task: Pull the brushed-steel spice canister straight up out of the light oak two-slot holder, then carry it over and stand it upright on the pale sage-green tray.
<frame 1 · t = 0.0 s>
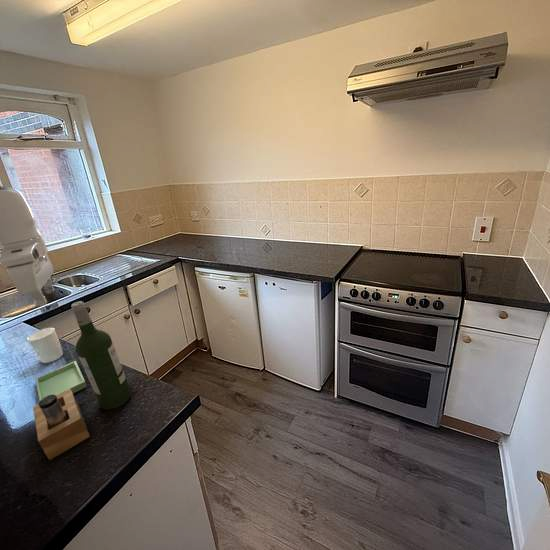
hand: (47, 298, 82), 29 cm above the countertop, tool pointing down, fingers open, 8 cm apart
holder: (65, 430, 75), on the countertop
wine bottle: (116, 399, 83), on the countertop
canister: (67, 437, 72), resting in holder
tray: (62, 385, 92), on the countertop
white cup: (52, 357, 107), on the countertop
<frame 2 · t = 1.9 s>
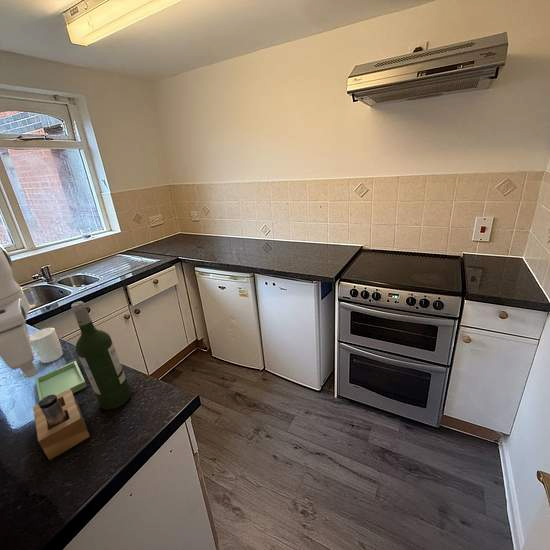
hand: (30, 365, 65), 22 cm above the countertop, tool pointing down, fingers open, 8 cm apart
nothing on the countertop moved.
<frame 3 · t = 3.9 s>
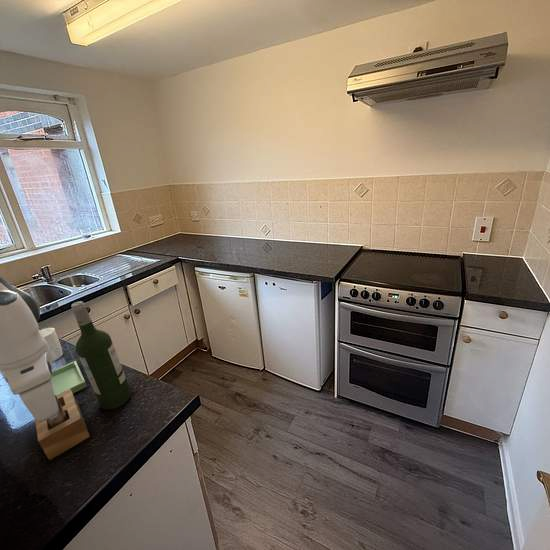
hand: (53, 411, 69), 9 cm above the countertop, tool pointing down, fingers closed on canister, 3 cm apart
canister: (67, 437, 72), resting in holder, touching gripper
everything else where it was.
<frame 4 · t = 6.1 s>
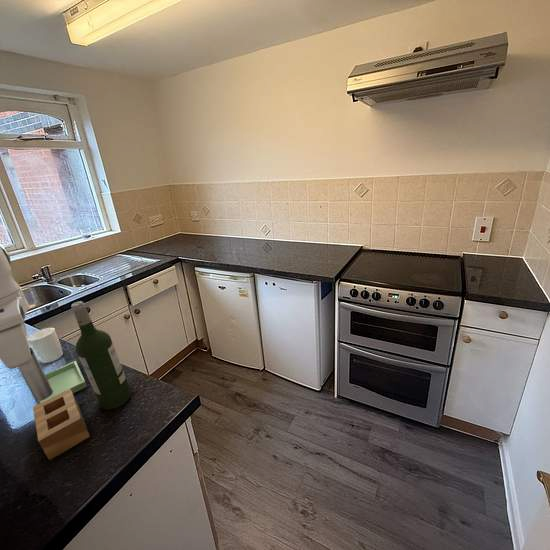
hand: (28, 364, 65), 22 cm above the countertop, tool pointing down, fingers closed on canister, 3 cm apart
canister: (44, 395, 68), point 13 cm above the countertop, touching gripper
everything else where it was.
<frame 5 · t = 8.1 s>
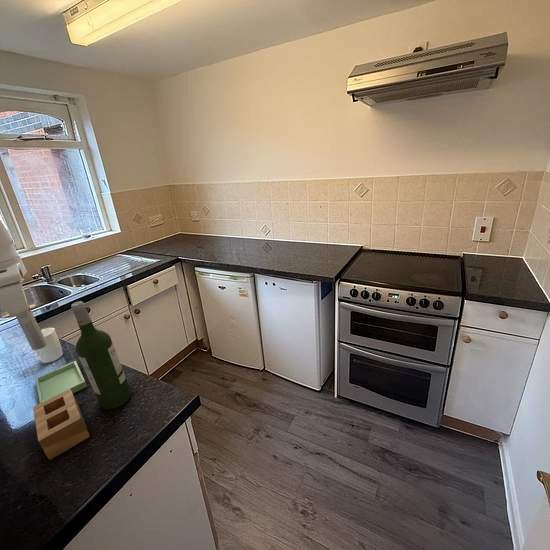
hand: (26, 319, 80), 25 cm above the countertop, tool pointing down, fingers closed on canister, 3 cm apart
canister: (39, 346, 83), point 16 cm above the countertop, touching gripper
everything else where it was.
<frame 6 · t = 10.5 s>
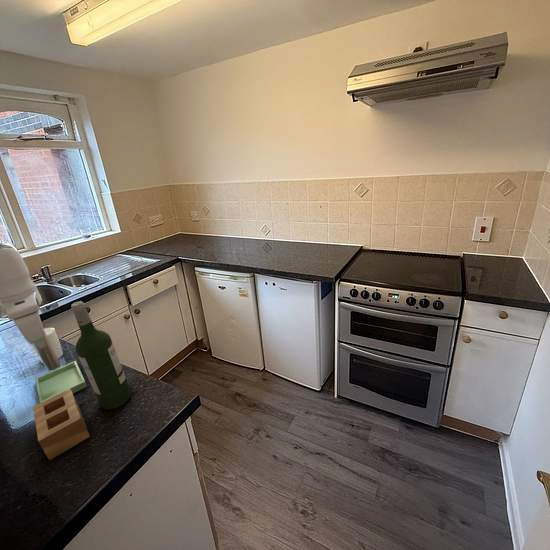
hand: (41, 343, 86), 15 cm above the countertop, tool pointing down, fingers closed on canister, 3 cm apart
canister: (54, 367, 89), point 7 cm above the countertop, touching gripper
everything else where it was.
when the fingers open (9 cm above the countertop, at t = 12.3 s): canister stays where it is, resting on tray.
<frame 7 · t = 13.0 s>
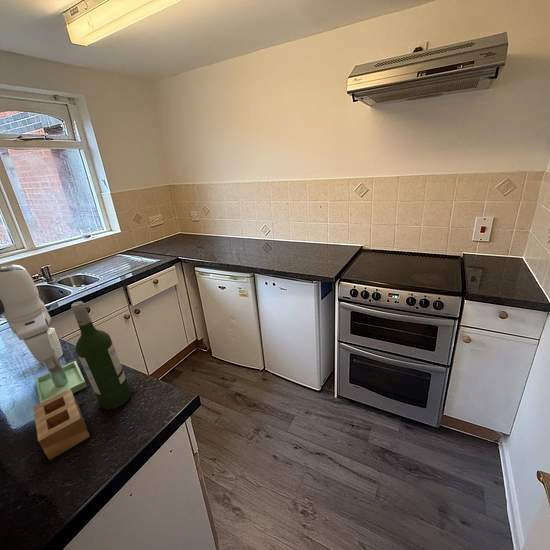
hand: (49, 360, 88), 9 cm above the countertop, tool pointing down, fingers open, 8 cm apart
canister: (61, 383, 92), resting on tray
everything else where it was.
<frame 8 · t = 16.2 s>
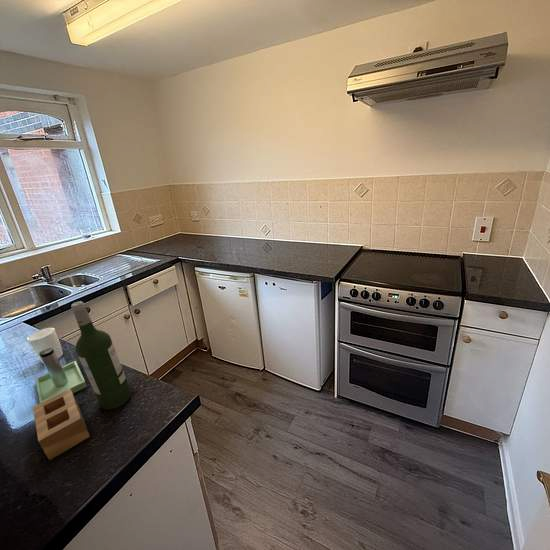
nothing on the countertop moved.
at the end: canister inside the target area in the tray (0.1 cm from its centre), point 0.5 cm above the tray's base; canister tilted 0°; the gripper is holding nothing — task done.
